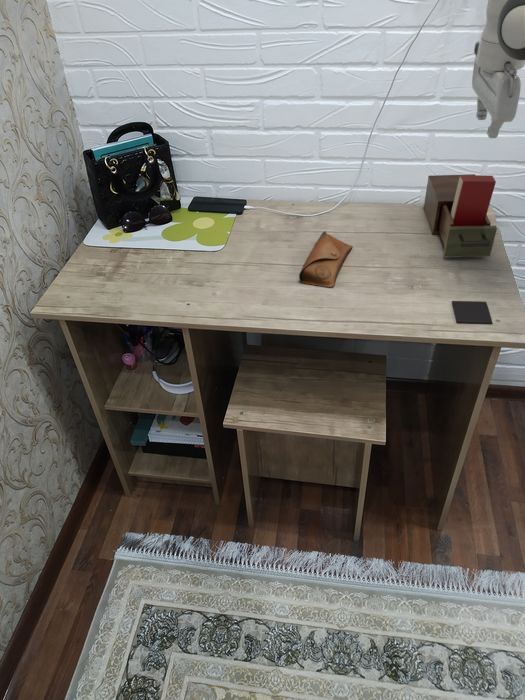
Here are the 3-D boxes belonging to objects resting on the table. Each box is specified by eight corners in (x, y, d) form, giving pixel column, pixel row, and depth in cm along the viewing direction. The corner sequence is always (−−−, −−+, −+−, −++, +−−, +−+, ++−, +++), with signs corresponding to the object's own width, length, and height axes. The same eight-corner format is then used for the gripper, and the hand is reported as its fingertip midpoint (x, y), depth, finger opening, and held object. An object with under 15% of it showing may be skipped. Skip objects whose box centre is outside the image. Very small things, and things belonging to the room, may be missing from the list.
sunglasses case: (335, 287, 126) (321, 263, 123) (309, 295, 130) (294, 272, 128) (354, 245, 139) (341, 222, 136) (329, 254, 143) (316, 232, 140)
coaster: (485, 303, 121) (486, 301, 120) (492, 324, 115) (492, 322, 115) (451, 302, 121) (452, 300, 121) (456, 323, 116) (457, 321, 116)
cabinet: (480, 233, 141) (488, 200, 134) (432, 234, 141) (438, 201, 135) (468, 206, 151) (475, 174, 144) (423, 207, 151) (428, 175, 145)
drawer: (494, 266, 129) (502, 238, 124) (447, 267, 129) (453, 239, 124) (477, 227, 141) (483, 201, 136) (434, 228, 142) (439, 202, 137)
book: (475, 234, 137) (492, 175, 126) (478, 241, 134) (496, 181, 124) (445, 234, 137) (459, 175, 127) (447, 240, 135) (462, 181, 124)
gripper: (535, 71, 101) (515, 148, 110) (504, 39, 116) (489, 109, 125) (499, 73, 101) (482, 148, 110) (473, 40, 116) (460, 110, 125)
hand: (486, 127), depth 118 cm, fingers open, 8 cm apart
